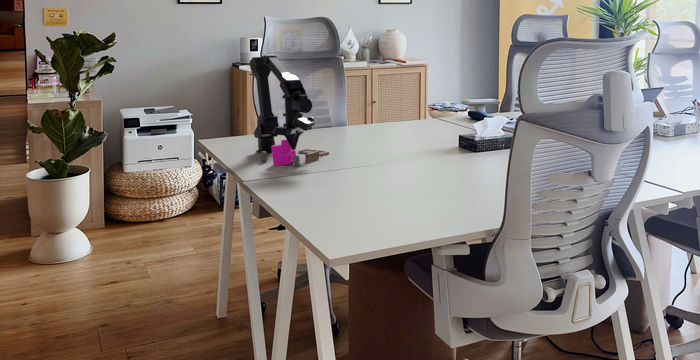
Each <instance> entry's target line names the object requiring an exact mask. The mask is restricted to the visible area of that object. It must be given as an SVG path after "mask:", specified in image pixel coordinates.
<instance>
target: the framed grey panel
mask: <svg viewBox="0 0 700 360" xmlns="http://www.w3.org/2000/svg"><path fill="white" fill-rule="evenodd" d="M297 153H298V154H304V156H305V158H304V159H305V161H304V162H305V163H311V162H312V161H316V160H318V159H320V157H324V156H328V155H329V154H330V152H329V151H327V150H320V149H311V148H304V149H300V150H298V152H297ZM260 155H261V163H267V161H268V160H267V159H268V158H267V153H266V152H265V151H263V152H260ZM300 157H301V156H300V155H296V156H294V161H293V162H294V163H293V164H294V167H295V168H296V167H297V168H299V167H300Z"/></svg>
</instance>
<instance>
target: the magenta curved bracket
mask: <svg viewBox="0 0 700 360" xmlns="http://www.w3.org/2000/svg"><path fill="white" fill-rule="evenodd" d="M280 142H281V143H280V144H275V145H273V146H271V149H272V152H271V155H272V157H271V158H272V163H273V166H284V165H285V166H286V165H290V164H291V163H293V162H294V156H297V152H296V149H295V150H292V148H291V146H290V144H289V143H288V141H287V139H286V138H283V139H281V141H280Z"/></svg>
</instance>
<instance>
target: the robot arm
mask: <svg viewBox="0 0 700 360" xmlns="http://www.w3.org/2000/svg"><path fill="white" fill-rule="evenodd" d="M249 68H250V71H251V74H252V75H253V77H254V78H255V80H256V87H257V88H256V90H257V95H258V96H257V97H258V105H259V113H260V114H259V115H258V116H259V117H258V118H257V121H256V122H257V123H256V124H257V125H256V128H255V129H254V132H253V136H254V138H256V139H257V144H258V145H257V146H258V148H257V149H256V150H255V152H256V153H257V152H258V153H261V152H263V151H265V152H266V154H270V153H272V149H271V146H273V145H276V140H275V138H277V137H278V136H284V138H285V139H287V141H288V143H289V144H290V146H291V148H292V150H295V151H296V150H297V149H296V148H297V145H298V141H299V138H300V136H301V135H302V134H304V132H307V131H311V130H312V129H313V126H315V118H314V117H313V116H309V117H303V116H304V115H303V114H308V113H310V112H311V111H312V109H313V103H312V101H311V99H310V98H309V97H308V94H307V93H306V89H305V87H304V84H303V82H302V81H301V79H300V78H298V76H296V75H295V74H291V73H290V72H289V71H288V70H287V68H285V66H284V65H283V63H281V61H280V60H279V59H278V56H277V55H276V54H265V55H262V56H253V57H251V58H250V60H249ZM271 73H273V75H274V76H275V77H276V79H277V80H278V81H279V87H280V89H281V91H282V93H284V94H283V95H282V99H284V109H285V110H284V113H282V117H285V123H283V125H282V126H281V125H279V119H278V115H275V114H274V113H273V108H272V100H271V92H270V82H269V76H270V74H271Z"/></svg>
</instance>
